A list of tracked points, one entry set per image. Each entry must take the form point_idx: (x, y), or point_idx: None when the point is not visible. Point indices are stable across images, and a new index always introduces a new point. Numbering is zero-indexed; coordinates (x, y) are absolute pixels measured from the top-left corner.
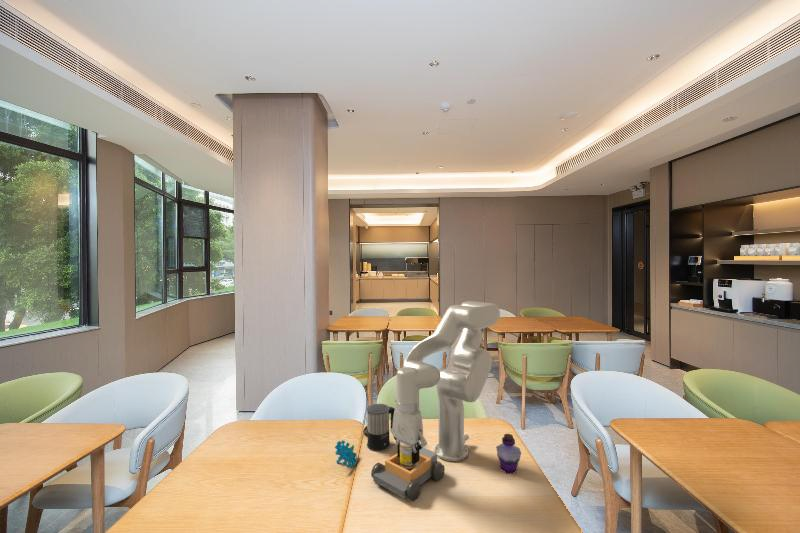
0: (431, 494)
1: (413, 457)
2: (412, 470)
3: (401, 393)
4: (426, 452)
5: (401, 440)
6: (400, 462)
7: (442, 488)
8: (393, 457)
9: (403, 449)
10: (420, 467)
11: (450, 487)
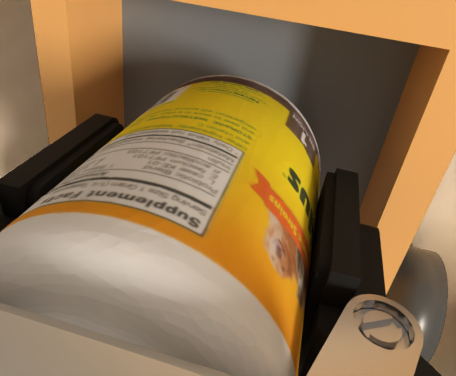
0: (33, 27)
1: (50, 151)
2: (53, 13)
3: None
4: None
5: (113, 342)
6: (282, 105)
7: (29, 120)
8: (418, 151)
9: (134, 176)
10: (52, 124)
11: (7, 149)
